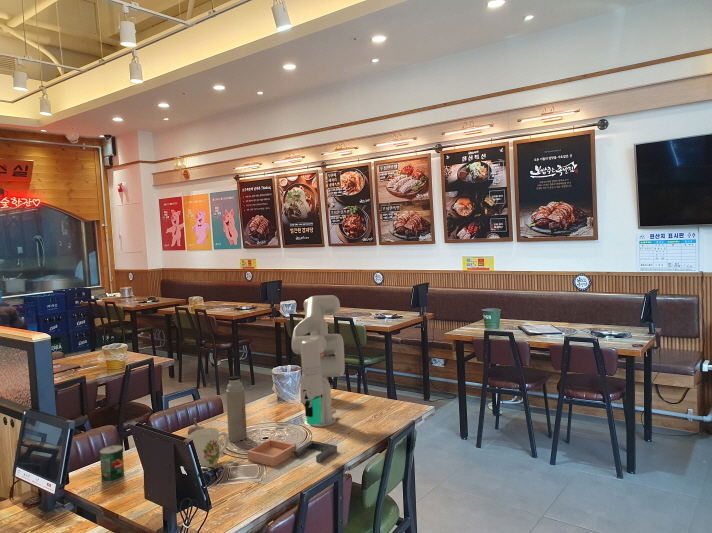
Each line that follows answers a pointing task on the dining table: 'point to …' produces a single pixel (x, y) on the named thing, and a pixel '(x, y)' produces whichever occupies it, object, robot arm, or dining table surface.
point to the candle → (315, 412)
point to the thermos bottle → (236, 409)
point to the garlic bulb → (194, 427)
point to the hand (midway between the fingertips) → (313, 413)
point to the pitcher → (208, 445)
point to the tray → (271, 452)
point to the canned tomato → (112, 463)
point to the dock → (326, 448)
